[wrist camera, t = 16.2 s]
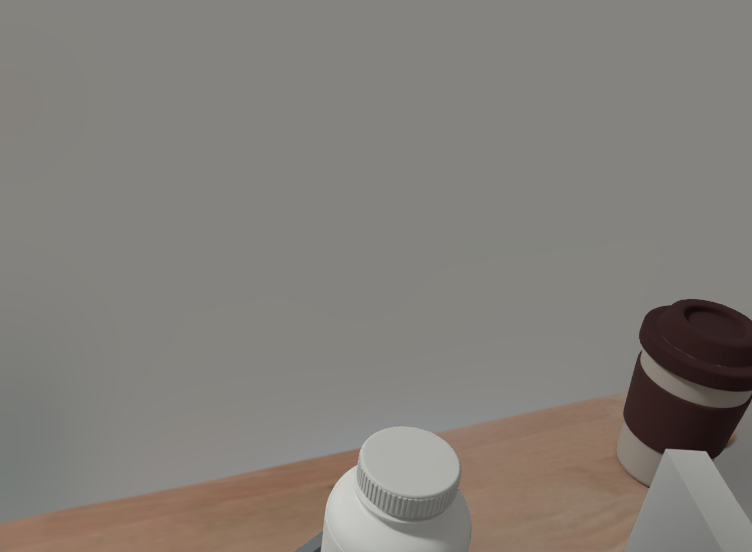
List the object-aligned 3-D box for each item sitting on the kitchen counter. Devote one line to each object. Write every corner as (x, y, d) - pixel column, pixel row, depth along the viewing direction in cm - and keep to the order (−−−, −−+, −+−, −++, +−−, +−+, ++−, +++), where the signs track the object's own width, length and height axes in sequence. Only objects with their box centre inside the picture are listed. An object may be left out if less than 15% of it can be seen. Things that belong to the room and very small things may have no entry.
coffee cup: (663, 419, 68) (717, 283, 61) (742, 496, 60) (815, 349, 53) (577, 436, 65) (624, 293, 58) (649, 519, 57) (714, 366, 50)
